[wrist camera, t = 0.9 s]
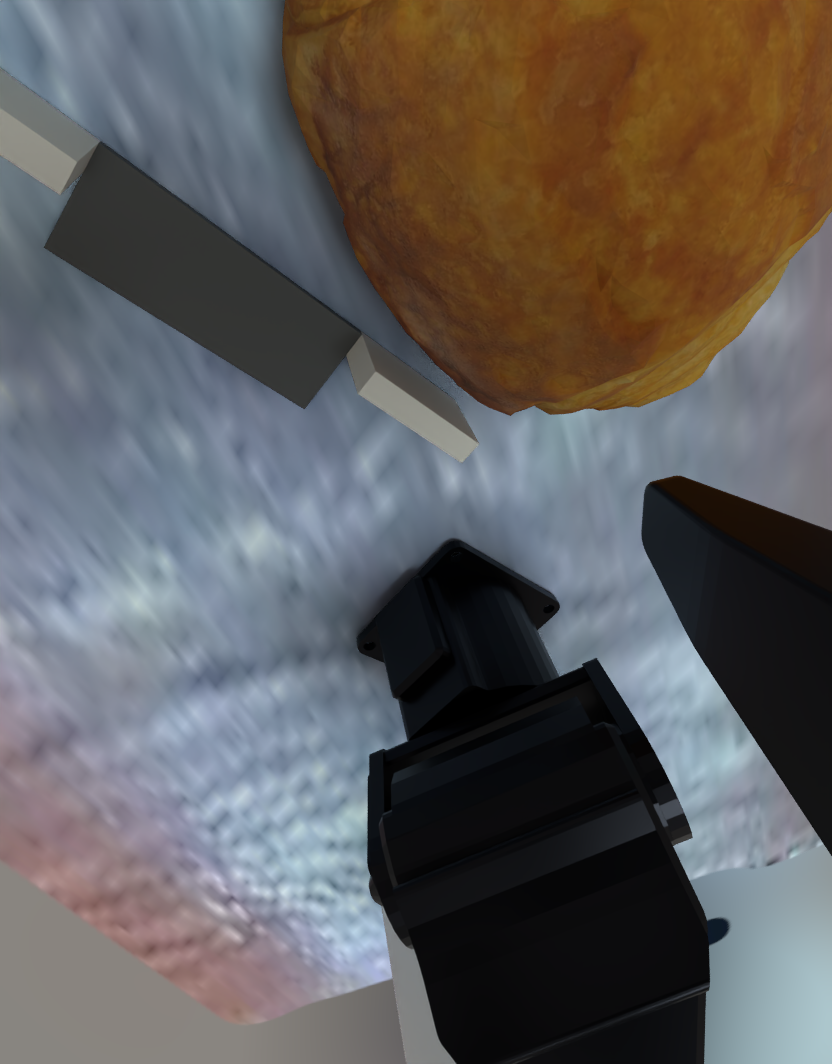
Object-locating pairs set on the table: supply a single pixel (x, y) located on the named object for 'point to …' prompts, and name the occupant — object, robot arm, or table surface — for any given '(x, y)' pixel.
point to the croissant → (569, 177)
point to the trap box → (206, 276)
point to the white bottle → (413, 1004)
